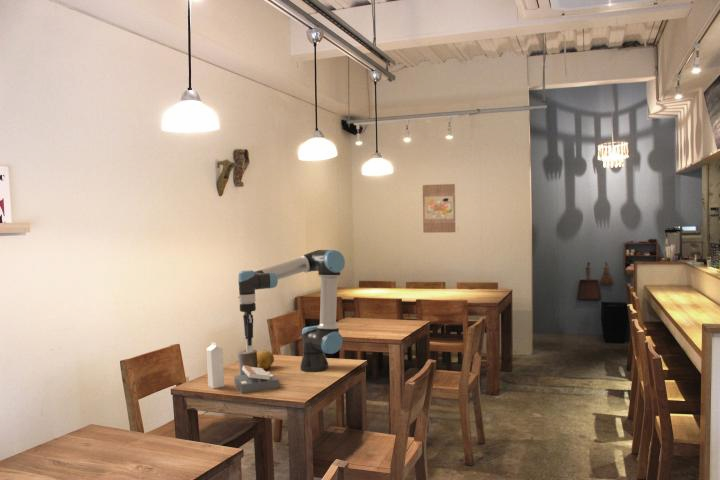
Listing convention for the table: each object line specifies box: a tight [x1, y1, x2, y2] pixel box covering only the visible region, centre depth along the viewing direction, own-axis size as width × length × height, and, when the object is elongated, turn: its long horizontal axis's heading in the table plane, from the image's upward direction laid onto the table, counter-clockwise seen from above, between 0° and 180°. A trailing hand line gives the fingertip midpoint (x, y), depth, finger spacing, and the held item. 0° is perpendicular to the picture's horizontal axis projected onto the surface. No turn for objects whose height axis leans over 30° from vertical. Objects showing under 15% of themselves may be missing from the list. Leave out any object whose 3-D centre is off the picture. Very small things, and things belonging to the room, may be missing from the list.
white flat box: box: [247, 371, 270, 380], centre depth 289 cm, size 10×5×2 cm, turn 112°
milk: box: [205, 341, 225, 389], centre depth 298 cm, size 6×6×22 cm
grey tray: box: [233, 371, 280, 394], centre depth 295 cm, size 18×19×5 cm
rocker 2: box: [244, 368, 268, 375], centre depth 295 cm, size 10×5×2 cm, turn 112°
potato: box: [257, 349, 275, 371], centre depth 331 cm, size 10×12×10 cm
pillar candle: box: [237, 349, 258, 376], centre depth 313 cm, size 10×10×15 cm
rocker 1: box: [242, 365, 265, 372], centre depth 301 cm, size 10×5×2 cm, turn 112°
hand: (249, 351), depth 288 cm, fingers closed
